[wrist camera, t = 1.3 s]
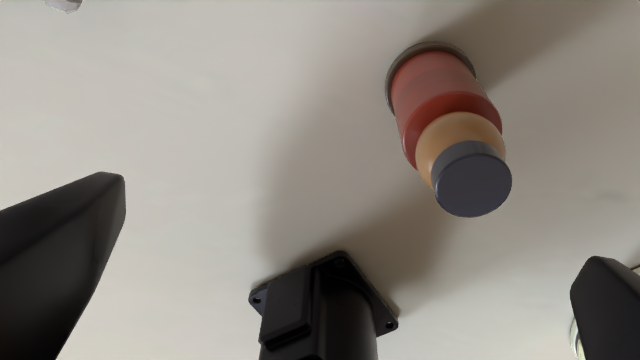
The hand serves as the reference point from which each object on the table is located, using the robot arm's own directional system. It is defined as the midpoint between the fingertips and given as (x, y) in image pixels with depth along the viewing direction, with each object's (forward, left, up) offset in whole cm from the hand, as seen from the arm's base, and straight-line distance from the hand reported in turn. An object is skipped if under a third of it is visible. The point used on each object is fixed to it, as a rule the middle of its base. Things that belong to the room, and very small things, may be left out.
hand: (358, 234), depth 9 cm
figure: (-3, -2, -13) cm, 13 cm away
